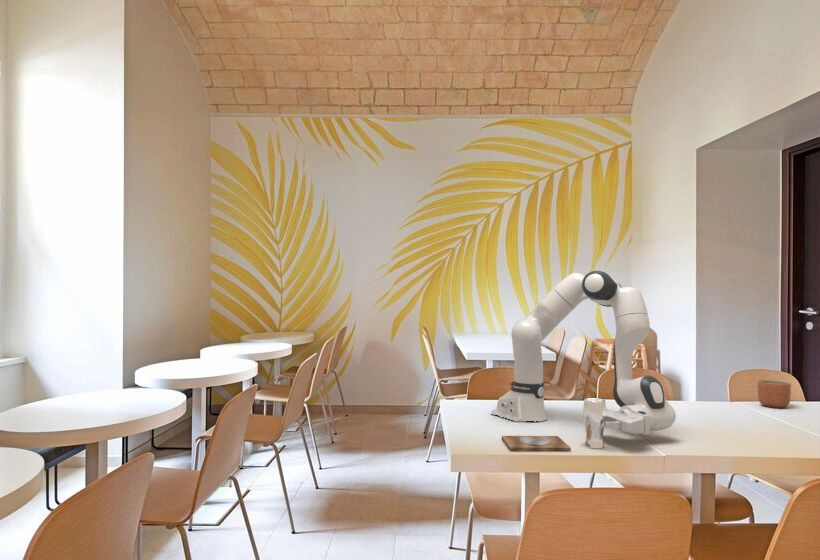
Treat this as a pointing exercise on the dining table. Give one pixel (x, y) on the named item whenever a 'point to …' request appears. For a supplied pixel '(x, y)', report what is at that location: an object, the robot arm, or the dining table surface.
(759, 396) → the planter
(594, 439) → the beer glass
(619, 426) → the robot arm
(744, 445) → the dining table surface
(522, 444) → the walnut board
